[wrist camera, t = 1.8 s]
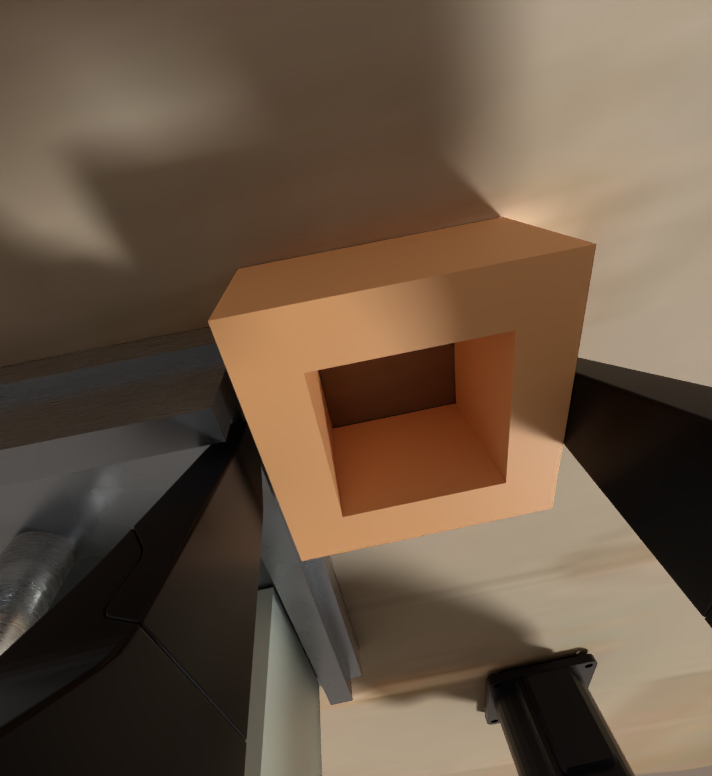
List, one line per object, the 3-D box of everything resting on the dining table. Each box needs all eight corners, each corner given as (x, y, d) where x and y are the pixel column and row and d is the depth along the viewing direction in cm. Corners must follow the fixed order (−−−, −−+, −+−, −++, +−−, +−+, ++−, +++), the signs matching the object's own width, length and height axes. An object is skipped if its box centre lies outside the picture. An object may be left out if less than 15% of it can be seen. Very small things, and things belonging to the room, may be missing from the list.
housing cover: (319, 683, 18) (325, 877, 13) (64, 737, 18) (-25, 955, 13) (273, 587, 14) (257, 819, 9) (-61, 657, 14) (-264, 935, 9)
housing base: (358, 649, 19) (375, 793, 15) (44, 715, 19) (-34, 884, 15) (254, 318, 10) (215, 446, 6) (-373, 439, 10) (-950, 679, 5)
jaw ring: (494, 427, 13) (552, 508, 10) (301, 466, 13) (301, 561, 10) (502, 217, 9) (596, 244, 6) (238, 269, 9) (207, 321, 6)
